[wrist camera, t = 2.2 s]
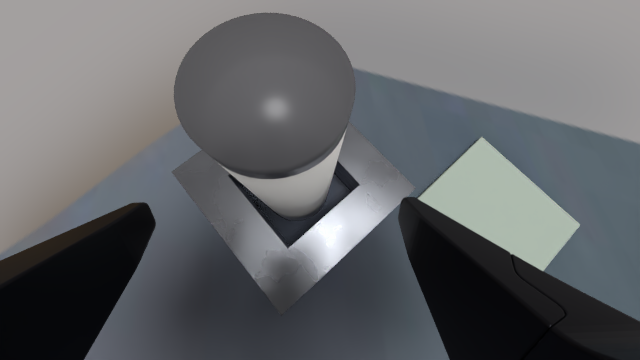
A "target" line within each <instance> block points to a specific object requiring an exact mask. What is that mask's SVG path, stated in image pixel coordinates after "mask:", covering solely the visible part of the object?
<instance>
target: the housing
mask: <svg viewBox="0 0 640 360" xmlns="http://www.w3.org/2000/svg"><path fill="white" fill-rule="evenodd" d="M172 173H173V174H174V176H175V177H176V178H177V180H178V181H179V182H180V184H181V185H182V186H183V188H184V189H185V190H186V192H187V193H188V194H189V195H190V197H191V198H192V199H193V201H194V202H195V203H196V205H197V206H198V207H199V209H200V210H201V211H202V212H203V214H204V215H205V216H206V218H207V219H208V220H209V222H210V223H211V224H212V226H213V227H214V228H215V229H216V231H217V232H218V233H219V235H220V236H221V237H222V239H223V240H224V241H225V243H226V244H227V245H228V246H229V248H230V249H231V250H232V252H233V253H234V254H235V256H236V257H237V258H238V260H239V261H240V262H241V263H242V265H243V266H244V267H245V269H246V270H247V271H248V273H249V274H250V275H251V277H252V278H253V279H254V280H255V282H256V283H257V284H258V286H259V287H260V288H261V290H262V291H263V292H264V294H265V295H266V296H267V297H268V299H269V300H270V301H271V303H272V304H273V305H274V307H275V308H276V309H277V311H278V312H279V313H280V314H281V316H282V315H283V314H284V313H285V312H286V311H287V310H288V309H289V308H290V307H291V306H292V305H293V304H295V303H296V302H297V301H298V300H299V299H300V298H301V297H302V296H303V295H304V294H305V293H306V292H307V291H308V290H309V289H310V288H311V287H312V286H313V285H315V284H316V283H317V282H318V281H319V280H320V279H321V278H322V277H323V276H324V275H325V274H326V273H327V272H328V271H329V270H330V269H331V268H332V267H333V266H334V265H336V264H337V263H338V262H339V261H340V260H341V259H342V258H343V257H344V256H345V255H346V254H347V253H348V252H349V251H350V250H351V249H352V248H353V247H354V246H356V245H357V244H358V243H359V242H360V241H361V240H362V239H363V238H364V237H365V236H366V235H367V234H368V233H369V232H370V231H371V230H372V229H373V228H374V227H375V226H377V225H378V224H379V223H380V222H381V221H382V220H383V219H384V218H385V217H386V216H387V215H388V214H389V213H390V212H391V211H392V210H393V209H394V208H395V207H397V206H398V205H399V204H400V203H401V201H402V199H403V198H404V197H407V196H408V195H409V194H410V193H411V192H412V191H413V190H414V189H415V187H414V186H413V185H412V184H411V183H410V182H409V181H408V180H407V179H406V178H405V177H404V176H403V175H402V174H401V173H400V172H399V171H398V170H397V169H396V168H395V167H394V166H393V165H392V164H391V163H390V162H389V161H388V160H387V159H386V158H385V157H384V156H383V155H382V154H381V153H380V152H379V151H378V150H377V149H376V148H375V147H374V146H373V145H372V144H371V143H370V142H369V141H368V140H367V139H366V138H365V137H364V136H363V135H362V134H361V133H360V132H359V131H358V130H357V129H356V128H355V127H354V126H353V125H352V124H351V123H350V122H348V125H347V129H346V132H345V136H344V139H343V143H342V146H341V150H340V153H339V157H338V160H337V164H336V167H335V170H334V173H335V174H336V175H337V176H338V177H339V179H340V180H341V181H342V182H343V183H344V184H345V185H346V186H347V187H348V188H349V189H350V190H351V191H352V192H351V193H350V194H349V195H348V196H347V197H346V198H344V199H343V200H342V201H341V202H340V203H339V204H338V205H337V206H335V207H334V208H333V209H332V210H331V211H330V212H329V213H328V214H326V215H325V216H324V217H323V218H322V219H321V220H320V221H319V222H317V223H316V224H315V225H314V226H313V227H312V228H311V229H310V230H308V231H307V232H306V233H305V234H304V235H303V236H302V237H301V238H299V239H298V240H297V241H296V242H295V243H294V244H293V245H292V246H290V245H289V244H288V243H287V242H286V241H285V239H284V238H283V237H282V236H281V234H280V233H279V232H278V231H277V230H276V228H275V227H274V226H273V225H272V224H271V222H270V221H269V220H268V219H267V217H266V216H265V215H264V214H263V213H262V211H261V210H260V209H259V208H258V207H257V205H256V204H255V203H254V202H253V200H252V199H251V198H250V197H249V196H248V194H247V193H246V192H245V191H244V190H243V188H242V187H241V185H242V183H240V182H239V181H238V180H237V179H236V178H235V177H234V176H232V175H231V174H230V173H229V172H228V171H227V170H225V169H224V168H223V167H222V166H221V165H220V164H218V163H217V162H216V161H215V160H214V159H213V158H211V157H210V156H209V155H208V154H207V153H206V152H204V151H203V150H201V151H200V152H198V153H197V154H195V155H194V156H193V157H191V158H190V159H189V160H187V161H186V162H184V163H183V164H182V165H180V166H179V167H177V168H176V169H175V170H173V171H172Z"/></svg>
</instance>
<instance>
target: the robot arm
mask: <svg viewBox="0 0 640 360" xmlns="http://www.w3.org/2000/svg"><path fill="white" fill-rule="evenodd" d="M398 221H399V225H400V229H401V232H402V236H403V239H404V243H405V247H406V250H407V254H408V257H409V260H410V263H411V265H412V268H413V270H414V273H415V275H416V278H417V280H418V282H419V285H420V287H421V290H422V292H423V295H424V297H425V300H426V302H427V305H428V307H429V310H430V312H431V314H432V317H433V319H434V322H435V324H436V327H437V329H438V332H439V334H440V337H441V339H442V341H443V344H444V346H445V349H446V351H447V354H448V356H449V359H450V360H640V321H638V320H636V319H634V318H632V317H630V316H628V315H626V314H624V313H622V312H620V311H618V310H616V309H614V308H612V307H611V306H609V305H607V304H605V303H603V302H601V301H599V300H597V299H595V298H593V297H591V296H589V295H587V294H585V293H583V292H581V291H579V290H578V289H576V288H574V287H572V286H570V285H568V284H566V283H564V282H562V281H560V280H558V279H557V278H555V277H553V276H551V275H549V274H547V273H545V272H544V271H542V270H540V269H538V268H536V267H535V266H533V265H531V264H529V263H528V262H526V261H524V260H522V259H521V258H519V257H517V256H515V255H514V254H510V252H508V251H507V250H505V249H503V248H502V247H500V246H498V245H496V244H495V243H493V242H491V241H489V240H488V239H486V238H484V237H483V236H481V235H479V234H477V233H476V232H474V231H472V230H470V229H469V228H467V227H465V226H464V225H462V224H460V223H458V222H457V221H455V220H453V219H451V218H450V217H448V216H446V215H445V214H443V213H441V212H439V211H438V210H436V209H434V208H432V207H431V206H429V205H427V204H426V203H424V202H422V201H420V200H419V199H417V198H415V197H404V198H403V199H402V201H401V205H400V210H399V215H398ZM155 225H156V222H155V219H154V217H153V214H152V212H151V210H150V208H149V206H148V204H147V203H131V204H128V205H126V206H124V207H122V208H119V209H117V210H115V211H112V212H110V213H108V214H106V215H103V216H101V217H99V218H96V219H94V220H92V221H90V222H87V223H85V224H83V225H81V226H78V227H76V228H74V229H71V230H69V231H67V232H65V233H62V234H60V235H58V236H55V237H53V238H51V239H49V240H46V241H44V242H42V243H39V244H37V245H35V246H33V247H30V248H28V249H26V250H24V251H21V252H19V253H17V254H14V255H12V256H10V257H8V258H5V259H3V260H1V261H0V360H84V359H85V357H86V355H87V353H88V352H89V350H90V348H91V346H92V345H93V343H94V341H95V339H96V338H97V336H98V334H99V333H100V331H101V329H102V327H103V326H104V324H105V322H106V320H107V319H108V317H109V315H110V314H111V312H112V310H113V308H114V307H115V305H116V303H117V301H118V300H119V298H120V296H121V294H122V293H123V291H124V289H125V288H126V286H127V284H128V282H129V281H130V279H131V277H132V275H133V274H134V272H135V270H136V268H137V266H138V264H139V262H140V260H141V258H142V256H143V253H144V251H145V249H146V247H147V245H148V242H149V240H150V238H151V236H152V233H153V231H154V229H155Z"/></svg>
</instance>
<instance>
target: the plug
mask: <svg viewBox="0 0 640 360" xmlns="http://www.w3.org/2000/svg"><path fill="white" fill-rule="evenodd" d="M355 90H356V89H355V77H354V72H353V68H352V65H351V63H350V61H349V58H348V56H347V54H346V53H345V51H344V50H343V48H342V47H341V45H340V44H339V43H338V42H337V41H336V40H335V39H334V38H333V37H332V36H331V35H330V34H329V33H327V32H326V31H325V30H323V29H322V28H320V27H319V26H317V25H315V24H313V23H311V22H309V21H307V20H304V19H302V18H299V17H296V16H291V15H287V14H279V13H257V14H250V15H244V16H241V17H237V18H234V19H231V20H229V21H226V22H224V23H222V24H220V25H218V26H216V27H215V28H213V29H212V30H210V31H209V32H207V33H206V34H204V35H203V36H202V37H201V38H200V39H199V40H198V41H197V42H196V43H195V44H194V45H193V46H192V47H191V48H190V50H189V51H188V53H187V54H186V55H185V57H184V59H183V61H182V63H181V65H180V67H179V70H178V72H177V76H176V80H175V85H174V102H175V108H176V111H177V115H178V118H179V120H180V122H181V124H182V127H183V128H184V130H185V131H186V133H187V134H188V136H189V137H190V138H191V139H192V140H193V141H194V142H195V143H196V144H197V146H199V147H200V148H201V149H202V150H203V151H204V152H206V153H207V154H208V155H209V156H210V157H211V158H213V159H214V160H215V161H216V162H217V163H218V164H220V165H221V166H222V167H223V168H224V169H225V170H227V171H228V172H229V173H230V174H231V175H232V176H234V177H235V178H236V179H237V180H238V181H239V182H240V183H242V184H243V185H244V186H245V187H246V188H247V189H249V190H250V191H251V192H252V193H253V194H254V195H256V196H257V197H258V198H259V199H260V200H261V201H263V202H264V203H265V204H266V205H267V206H268V207H270V208H271V209H272V210H273V211H274V212H275V213H277V214H278V215H279V216H281V217H283V218H285V219H288V220H294V221H299V220H305V219H308V218H310V217H312V216H314V215H315V214H316V213H318V212H319V211H320V209H321V208H322V207H323V205H324V203H325V201H326V198H327V195H328V191H329V188H330V184H331V181H332V177H333V174H334V170H335V167H336V164H337V160H338V157H339V153H340V150H341V146H342V143H343V139H344V136H345V132H346V129H347V125H348V122H349V118H350V115H351V111H352V108H353V104H354V100H355Z"/></svg>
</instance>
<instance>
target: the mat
mask: <svg viewBox="0 0 640 360" xmlns="http://www.w3.org/2000/svg"><path fill="white" fill-rule="evenodd" d="M417 199H419V200H420V201H422V202H424V203H426V204H427V205H429V206H431V207H432V208H434V209H436V210H438V211H439V212H441V213H443V214H445V215H446V216H448V217H450V218H451V219H453V220H455V221H457V222H458V223H460V224H462V225H464V226H465V227H467V228H469V229H470V230H472V231H474V232H476V233H477V234H479V235H481V236H483V237H484V238H486V239H488V240H489V241H491V242H493V243H495V244H496V245H498V246H500V247H502V248H503V249H505V250H507V251H508V252H510V254H514V255H515V256H517V257H519V258H521V259H522V260H524V261H526V262H528V263H529V264H531V265H533V266H535V267H536V268H538V269H540V270H542V271H543V270H544V269H545V268H546V267H547V265H548V264H549V263H550V262H551V261H552V259H553V258H554V257H555V256H556V254H557V253H558V252H559V251H560V249H561V248H562V247H563V246H564V245H565V243H566V242H567V241H568V240H569V238H570V237H571V236H572V235H573V233H574V232H575V231H576V230H577V228H578V227H579V226H580V224H579V223H578V222H577V221H575V220H574V219H573V218H572V217H571V216H570V215H569V214H568V213H566V212H565V211H564V210H563V209H562V208H561V207H560V206H559V205H557V204H556V203H555V202H554V201H553V200H552V199H551V198H550V197H549V196H547V195H546V194H545V193H544V192H543V191H542V190H541V189H540V188H538V187H537V186H536V185H535V184H534V183H533V182H532V181H531V180H529V179H528V178H527V177H526V176H525V175H524V174H523V173H522V172H521V171H519V170H518V169H517V168H516V167H515V166H514V165H513V164H512V163H510V162H509V161H508V160H507V159H506V158H505V157H504V156H503V155H501V154H500V153H499V152H498V151H497V150H496V149H495V148H494V147H493V146H491V145H490V144H489V143H488V142H487V141H486V140H485V139H484V138H482V137H481V138H479V139H478V140H477V141H476V142H475V143H474V144H473V145H472V146H471V147H470V148H469V149H468V150H467V151H466V152H465V153H464V154H463V155H462V156H461V157H460V158H458V159H457V160H456V161H455V162H454V163H453V164H452V165H451V166H450V167H449V168H448V169H447V170H446V171H445V172H444V173H443V174H442V175H441V176H440V177H439V178H438V179H437V180H436V181H435V182H434V183H433V184H432V185H430V186H429V187H428V188H427V189H426V190H425V191H424V192H423V193H422V194H421V195H420V196H419V197H418V198H417Z"/></svg>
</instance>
